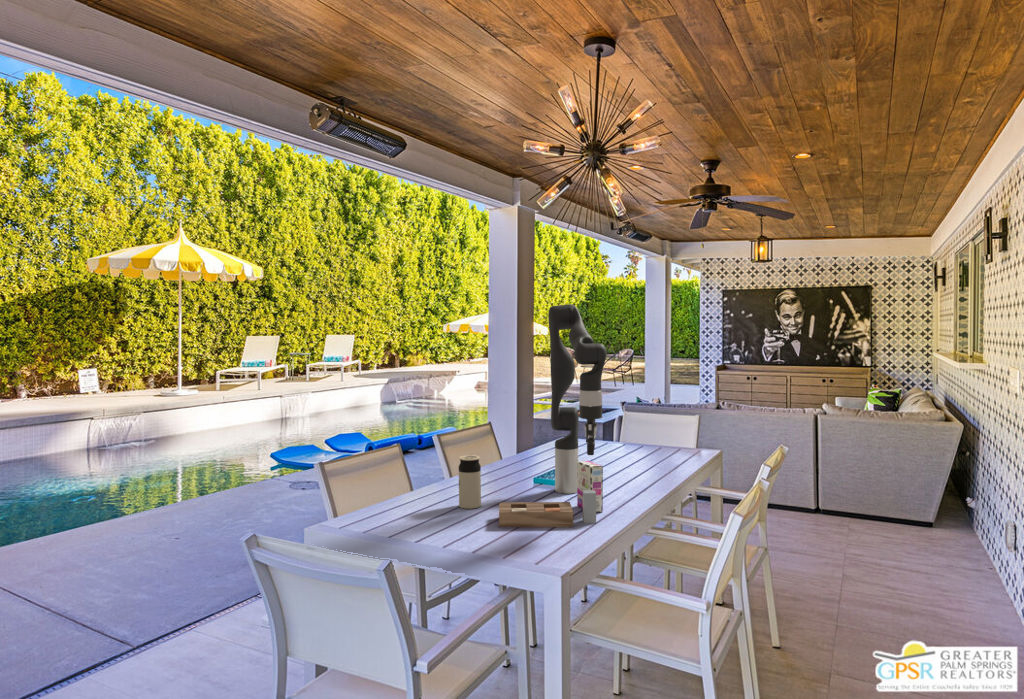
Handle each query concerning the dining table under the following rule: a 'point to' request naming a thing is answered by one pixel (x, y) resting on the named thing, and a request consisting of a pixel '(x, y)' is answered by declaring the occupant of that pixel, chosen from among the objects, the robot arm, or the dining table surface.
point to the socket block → (535, 514)
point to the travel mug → (469, 482)
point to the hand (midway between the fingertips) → (591, 452)
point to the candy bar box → (590, 482)
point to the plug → (589, 506)
